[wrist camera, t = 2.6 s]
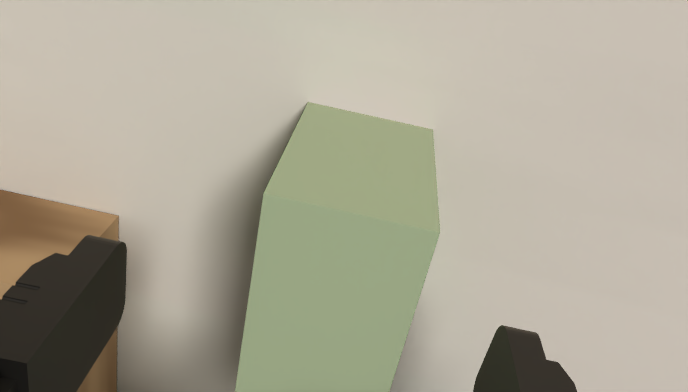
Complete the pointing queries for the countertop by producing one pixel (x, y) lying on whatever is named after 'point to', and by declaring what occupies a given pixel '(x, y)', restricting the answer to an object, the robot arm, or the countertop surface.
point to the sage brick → (340, 255)
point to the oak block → (46, 239)
